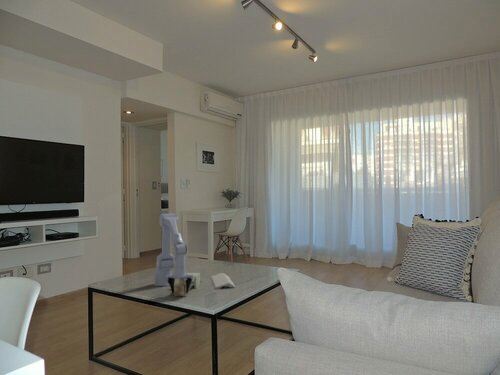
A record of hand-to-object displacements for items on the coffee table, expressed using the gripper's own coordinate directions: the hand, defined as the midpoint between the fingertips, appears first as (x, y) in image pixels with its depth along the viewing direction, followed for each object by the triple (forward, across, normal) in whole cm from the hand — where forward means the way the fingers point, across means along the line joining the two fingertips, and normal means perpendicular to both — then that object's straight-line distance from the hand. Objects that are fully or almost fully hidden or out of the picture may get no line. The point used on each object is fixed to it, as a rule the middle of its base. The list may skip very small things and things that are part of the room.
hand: (180, 292), depth 188 cm
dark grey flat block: (+2, 0, +28) cm, 29 cm away
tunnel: (+2, 0, +20) cm, 20 cm away
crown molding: (+2, +18, +30) cm, 34 cm away
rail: (+2, 0, +12) cm, 12 cm away
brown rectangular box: (+2, 0, +4) cm, 4 cm away
